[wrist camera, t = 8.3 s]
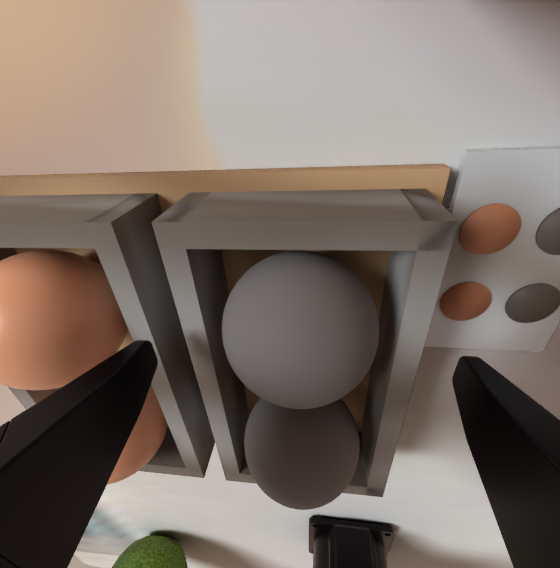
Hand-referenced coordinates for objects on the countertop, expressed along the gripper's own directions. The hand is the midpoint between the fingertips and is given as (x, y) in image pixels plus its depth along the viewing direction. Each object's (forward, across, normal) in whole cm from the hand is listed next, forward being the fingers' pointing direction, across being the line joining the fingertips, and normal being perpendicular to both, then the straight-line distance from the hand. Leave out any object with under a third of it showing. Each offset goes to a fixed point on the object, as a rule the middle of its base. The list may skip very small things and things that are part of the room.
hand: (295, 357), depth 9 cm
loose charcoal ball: (+1, 0, 0) cm, 1 cm away
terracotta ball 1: (+1, +9, 0) cm, 9 cm away
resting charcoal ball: (+1, 0, +6) cm, 7 cm away
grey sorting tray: (+4, +2, +3) cm, 6 cm away
